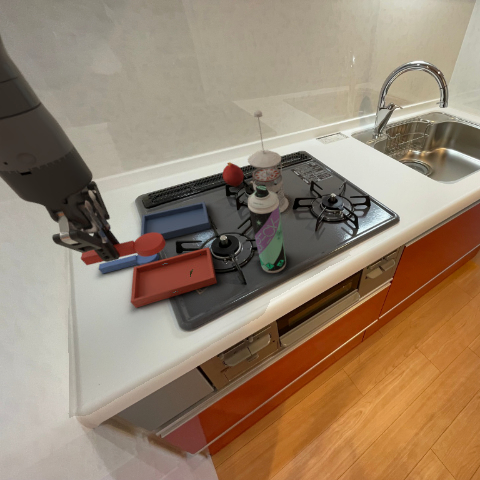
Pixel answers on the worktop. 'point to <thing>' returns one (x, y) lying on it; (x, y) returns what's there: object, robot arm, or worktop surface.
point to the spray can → (267, 229)
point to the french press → (268, 170)
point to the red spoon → (131, 248)
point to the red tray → (172, 277)
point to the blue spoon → (127, 262)
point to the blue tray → (176, 221)
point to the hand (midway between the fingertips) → (113, 254)
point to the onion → (233, 174)
